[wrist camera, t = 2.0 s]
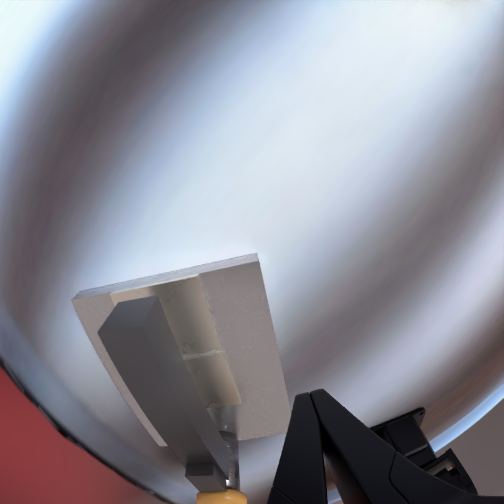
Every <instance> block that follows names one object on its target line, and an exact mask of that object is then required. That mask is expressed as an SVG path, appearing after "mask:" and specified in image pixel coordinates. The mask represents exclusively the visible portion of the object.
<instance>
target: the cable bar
mask: <svg viewBox="0 0 504 504" xmlns="http://www.w3.org/2000/svg"><path fill="white" fill-rule="evenodd" d="M97 333H98V335H99V337H100V339H101V341H102V343H103V345H104V347H105V349H106V351H107V353H108V355H109V356H110V358H111V360H112V362H113V364H114V366H115V367H116V369H117V371H118V373H119V374H120V376H121V378H122V379H123V381H124V383H125V384H126V386H127V388H128V389H129V391H130V392H131V394H132V396H133V397H134V399H135V400H136V402H137V403H138V405H139V406H140V408H141V409H142V411H143V412H144V414H145V415H146V417H147V418H148V420H149V421H150V422H151V424H152V425H153V427H154V428H155V429H156V431H157V432H158V434H159V435H160V436H161V438H162V439H163V440H164V442H165V443H166V444H167V445H168V447H169V448H170V449H171V451H172V452H173V453H174V454H175V456H176V457H177V458H178V459H179V460H180V462H181V463H182V464H183V465H184V466H185V468H186V473H185V477H186V478H187V479H188V480H189V481H190V482H191V483H192V484H193V485H194V486H195V487H196V488H197V489H198V490H199V491H200V492H198V493H197V504H247V496H246V494H244V493H243V492H240V491H237V490H232V489H227V480H229V449H228V448H227V446H226V444H225V442H224V440H223V439H222V437H221V435H220V433H219V431H218V429H217V427H216V426H215V424H214V422H213V420H212V418H211V416H210V414H209V412H208V410H207V408H206V406H205V404H204V402H203V400H202V398H201V396H200V394H199V392H198V390H197V388H196V386H195V383H194V381H193V379H192V377H191V375H190V373H189V370H188V368H187V366H186V364H185V361H184V359H183V357H182V355H181V352H180V350H179V348H178V345H177V343H176V340H175V338H174V336H173V333H172V331H171V328H170V326H169V323H168V321H167V318H166V315H165V313H164V310H163V308H162V305H161V302H160V300H159V297H158V295H154V296H149V297H144V298H138V299H133V300H128V301H123V302H118V303H117V305H116V306H115V307H114V309H113V310H112V312H111V313H110V315H109V316H108V317H107V319H106V320H105V322H104V323H103V325H102V326H101V327H100V329H99V330H98V332H97Z"/></svg>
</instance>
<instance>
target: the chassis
mask: <svg viewBox="0 0 504 504" xmlns="http://www.w3.org/2000/svg"><path fill="white" fill-rule="evenodd" d="M154 295H158V297H159V300H160V302H161V305H162V308H163V310H164V313H165V315H166V318H167V321H168V323H169V326H170V328H171V331H172V333H173V336H174V338H175V340H176V343H177V345H178V348H179V350H180V352H181V355H182V357H183V359H184V361H185V364H186V366H187V368H188V370H189V373H190V375H191V377H192V379H193V381H194V383H195V386H196V388H197V390H198V392H199V394H200V396H201V398H202V400H203V402H204V404H205V406H206V408H207V410H208V412H209V414H210V416H211V418H212V420H213V422H214V424H215V426H216V427H217V429H218V431H219V433H220V435H221V437H222V439H223V440H224V442H225V444H226V446H227V448H228V449H229V480H227V489H232V490H237V491H240V479H239V456H238V441H240V440H247V439H254V438H260V437H266V436H272V435H277V434H282V433H287V430H288V426H289V422H290V418H291V410H290V405H289V400H288V395H287V391H286V386H285V381H284V376H283V371H282V367H281V362H280V357H279V352H278V348H277V343H276V338H275V333H274V329H273V324H272V319H271V315H270V310H269V305H268V300H267V296H266V291H265V286H264V282H263V277H262V272H261V268H260V263H259V259H258V255H257V253H254V254H249V255H245V256H240V257H236V258H231V259H227V260H222V261H217V262H213V263H208V264H204V265H199V266H194V267H190V268H185V269H181V270H176V271H172V272H167V273H162V274H158V275H153V276H149V277H144V278H139V279H135V280H130V281H126V282H121V283H116V284H112V285H107V286H102V287H98V288H93V289H89V290H84V291H80V292H79V293H78V294H77V295H76V296H75V297H74V298H73V299H72V300H71V301H72V303H73V305H74V307H75V310H76V312H77V314H78V316H79V318H80V320H81V323H82V325H83V327H84V329H85V331H86V333H87V335H88V337H89V339H90V341H91V342H92V344H93V346H94V348H95V350H96V352H97V354H98V356H99V357H100V359H101V361H102V363H103V364H104V366H105V368H106V370H107V371H108V373H109V375H110V376H111V378H112V380H113V381H114V383H115V384H116V386H117V388H118V389H119V391H120V392H121V394H122V395H123V397H124V399H125V400H126V402H127V403H128V405H129V406H130V407H131V409H132V410H133V412H134V413H135V415H136V416H137V418H138V419H139V420H140V422H141V423H142V424H143V426H144V427H145V428H146V430H147V431H148V432H149V434H150V435H151V436H152V438H153V439H154V440H155V442H156V443H157V444H158V445H159V446H168V445H167V444H166V443H165V442H164V440H163V439H162V438H161V436H160V435H159V434H158V432H157V431H156V429H155V428H154V427H153V425H152V424H151V422H150V421H149V420H148V418H147V417H146V415H145V414H144V412H143V411H142V409H141V408H140V406H139V405H138V403H137V402H136V400H135V399H134V397H133V396H132V394H131V392H130V391H129V389H128V388H127V386H126V384H125V383H124V381H123V379H122V378H121V376H120V374H119V373H118V371H117V369H116V367H115V366H114V364H113V362H112V360H111V358H110V356H109V355H108V353H107V351H106V349H105V347H104V345H103V343H102V341H101V339H100V337H99V335H98V333H97V332H98V330H99V329H100V327H101V326H102V325H103V323H104V322H105V320H106V319H107V317H108V316H109V315H110V313H111V312H112V310H113V309H114V307H115V306H116V305H117V303H118V302H123V301H128V300H133V299H138V298H144V297H149V296H154Z"/></svg>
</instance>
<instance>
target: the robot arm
mask: <svg viewBox="0 0 504 504" xmlns="http://www.w3.org/2000/svg"><path fill="white" fill-rule="evenodd" d="M425 412H426V410H425V409H424V407H422V408H419V409H417V410H415V411H413V412H411V413H408V414H406V415H404V416H401V417H399V418H397V419H394V420H392V421H389V422H387V423H384V424H382V425H379V426H376V427H373V428H371V429H369V428H368V427H367V426H366V425H364V424H363V423H362V422H361V421H360V420H359V419H357V418H356V417H355V416H354V415H353V414H352V413H350V412H349V411H348V410H347V409H346V408H345V407H343V406H342V405H341V404H340V403H339V402H338V401H337V400H335V399H334V398H333V397H332V396H331V395H330V394H329V393H327V392H326V391H325V390H324V389H318V390H314V391H311V392H310V394H309V393H308V392H306V393H302V394H298V395H296V396H295V400H294V405H293V409H292V413H291V418H290V422H289V426H288V430H287V434H286V438H285V442H284V446H283V450H282V453H281V457H280V461H279V465H278V468H277V472H276V475H275V479H274V482H273V487H272V488H271V492H270V495H269V498H268V501H267V504H328V500H327V488H326V477H325V466H324V458H325V460H326V463H327V465H328V468H329V470H330V472H331V475H332V477H333V480H334V482H335V484H336V487H337V489H338V492H339V494H340V496H341V499H342V501H343V503H344V504H504V496H481V495H478V493H477V490H476V488H475V486H474V484H473V482H472V480H471V479H470V477H469V475H468V474H467V472H466V471H465V469H464V468H463V466H462V465H461V463H460V461H459V460H458V458H457V457H456V455H455V454H454V452H453V451H452V449H451V448H450V449H448V450H447V451H446V452H445V453H444V454H443V455H441V456H440V457H438V458H437V456H436V454H435V452H434V451H433V449H432V447H431V445H430V444H429V442H428V440H427V439H426V437H425V435H424V433H423V432H422V430H421V428H420V426H421V423H422V421H423V418H424V415H425ZM323 455H324V456H323ZM450 467H452V469H451V470H450V471H448V470H447V469H448V468H450Z"/></svg>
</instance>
